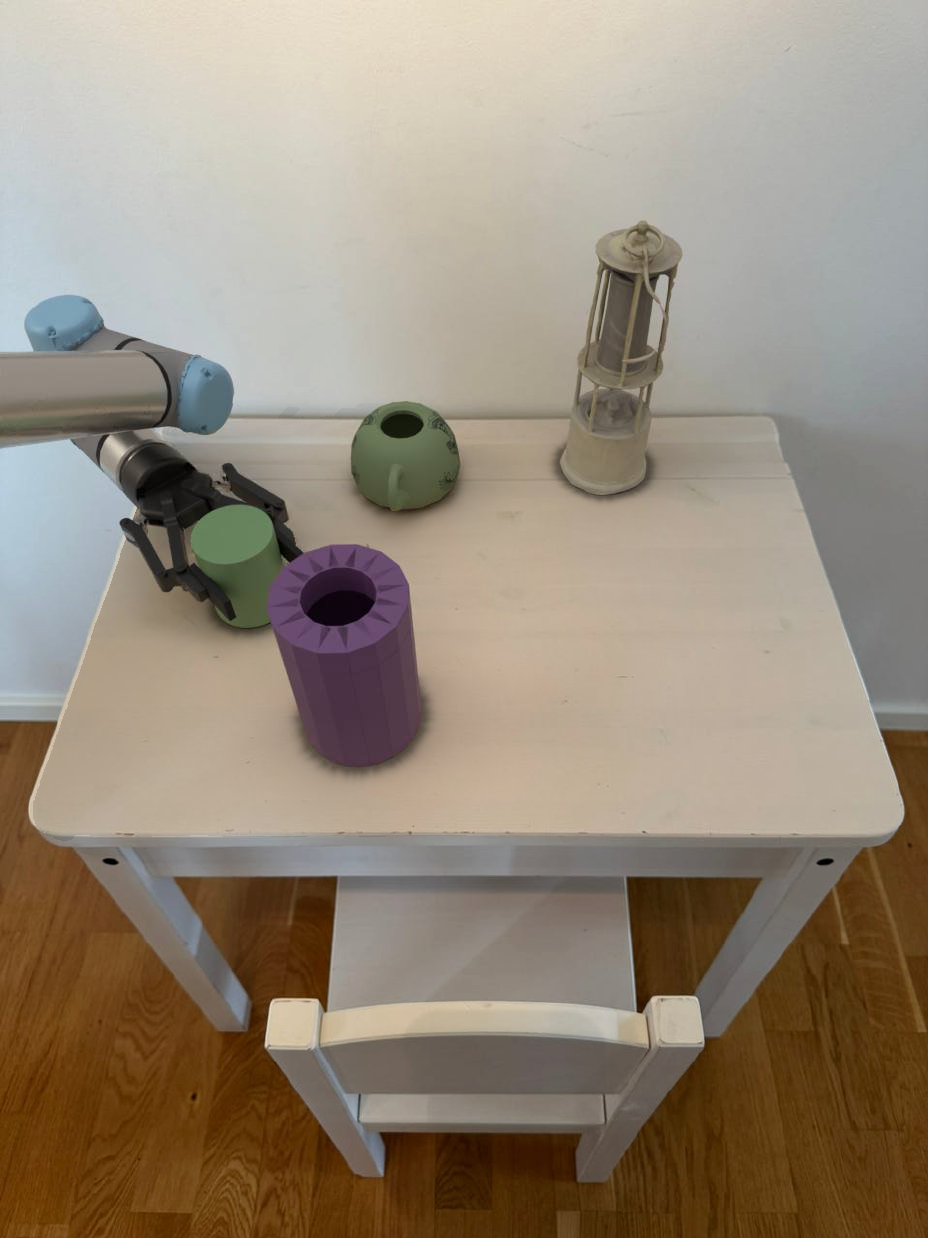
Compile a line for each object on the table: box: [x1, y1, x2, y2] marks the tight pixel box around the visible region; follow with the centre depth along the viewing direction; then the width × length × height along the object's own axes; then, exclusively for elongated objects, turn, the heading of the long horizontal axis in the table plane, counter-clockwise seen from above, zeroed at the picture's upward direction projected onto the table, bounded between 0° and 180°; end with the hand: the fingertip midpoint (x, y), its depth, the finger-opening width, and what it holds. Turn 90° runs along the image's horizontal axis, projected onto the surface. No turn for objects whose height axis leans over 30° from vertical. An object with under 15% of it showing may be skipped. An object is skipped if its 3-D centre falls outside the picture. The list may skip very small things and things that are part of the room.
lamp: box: [559, 220, 683, 496], centre depth 91 cm, size 10×13×30 cm
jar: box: [266, 543, 422, 768], centre depth 75 cm, size 11×11×18 cm
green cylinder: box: [189, 505, 285, 629], centre depth 88 cm, size 8×8×10 cm
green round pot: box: [350, 400, 461, 512], centre depth 98 cm, size 16×13×9 cm
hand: (267, 586), depth 85 cm, fingers closed on green cylinder, 8 cm apart
